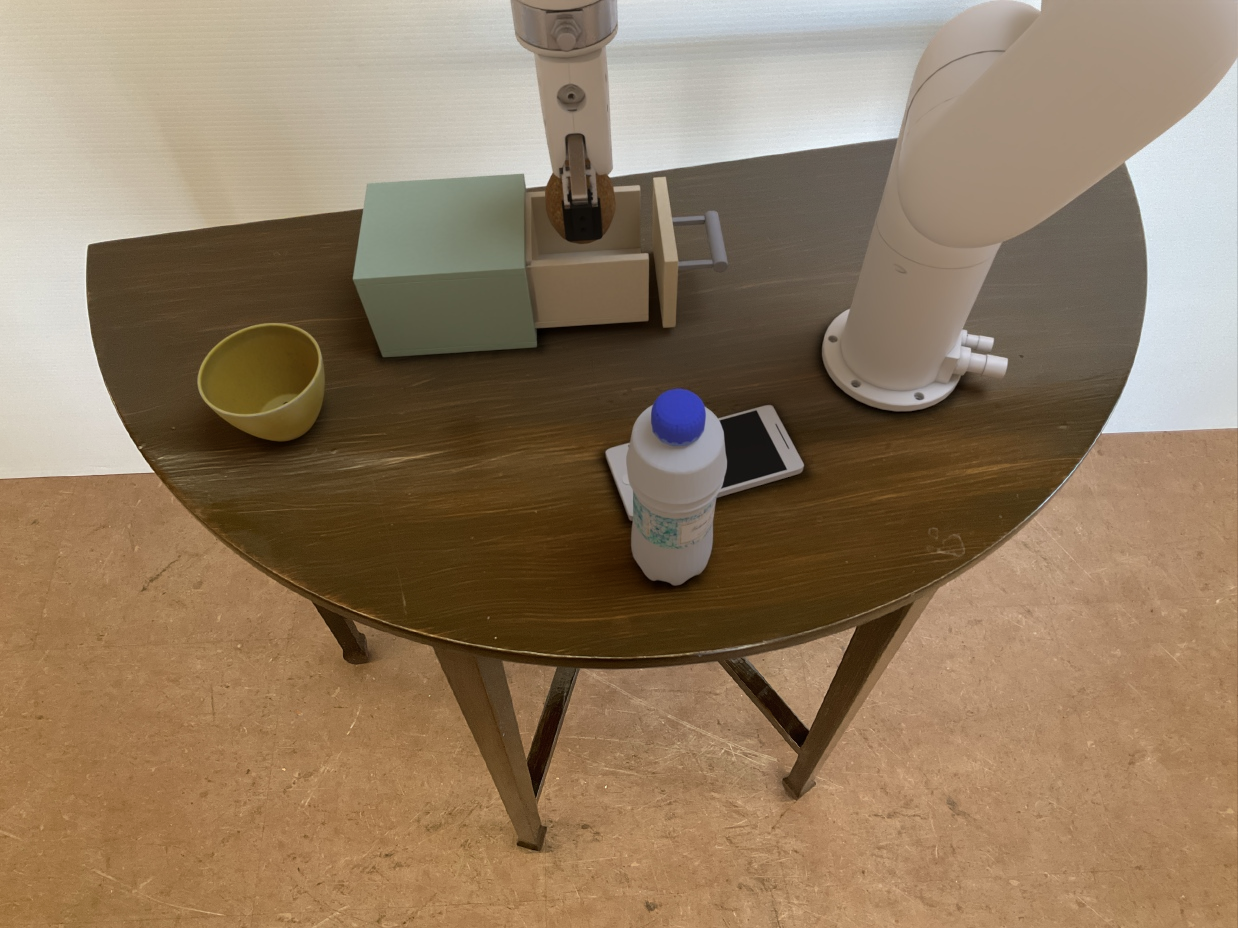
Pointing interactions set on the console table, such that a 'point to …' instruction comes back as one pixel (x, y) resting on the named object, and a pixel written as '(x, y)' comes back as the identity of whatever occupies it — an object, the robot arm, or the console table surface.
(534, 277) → the drawer
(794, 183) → the console table surface
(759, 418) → the smartphone
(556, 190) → the fruit
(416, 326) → the cabinet
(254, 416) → the flower pot
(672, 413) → the bottle
